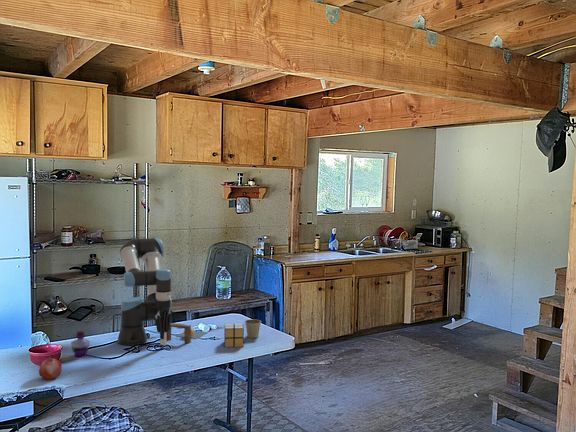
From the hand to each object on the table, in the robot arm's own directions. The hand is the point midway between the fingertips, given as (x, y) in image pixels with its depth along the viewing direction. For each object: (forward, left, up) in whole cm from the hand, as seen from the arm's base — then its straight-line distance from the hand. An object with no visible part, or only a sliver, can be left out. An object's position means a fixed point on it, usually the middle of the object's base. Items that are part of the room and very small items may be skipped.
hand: (163, 344), depth 262 cm
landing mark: (0, +27, -2) cm, 27 cm away
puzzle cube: (+30, +21, -2) cm, 37 cm away
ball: (+1, +22, +1) cm, 22 cm away
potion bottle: (-30, -26, -2) cm, 40 cm away
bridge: (0, +13, -2) cm, 13 cm away
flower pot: (+33, +38, -2) cm, 50 cm away
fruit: (-20, -54, -2) cm, 58 cm away
